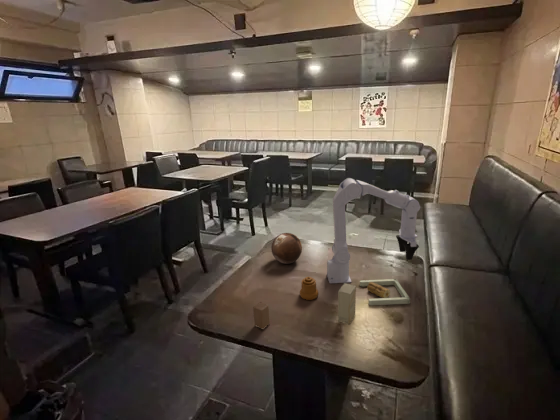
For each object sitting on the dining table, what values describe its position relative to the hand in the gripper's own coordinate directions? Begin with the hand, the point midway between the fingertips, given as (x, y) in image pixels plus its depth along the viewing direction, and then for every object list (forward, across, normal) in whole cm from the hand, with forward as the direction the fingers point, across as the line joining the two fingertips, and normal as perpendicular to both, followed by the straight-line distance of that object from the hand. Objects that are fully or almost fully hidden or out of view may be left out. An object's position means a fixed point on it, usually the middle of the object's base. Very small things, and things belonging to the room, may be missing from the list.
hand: (405, 255), depth 130 cm
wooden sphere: (+10, +17, +51) cm, 55 cm away
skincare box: (+10, -28, +30) cm, 42 cm away
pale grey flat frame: (+10, -13, +13) cm, 21 cm away
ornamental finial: (+10, -13, +42) cm, 46 cm away
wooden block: (+10, -30, +60) cm, 68 cm away
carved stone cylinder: (+10, -13, +15) cm, 22 cm away
